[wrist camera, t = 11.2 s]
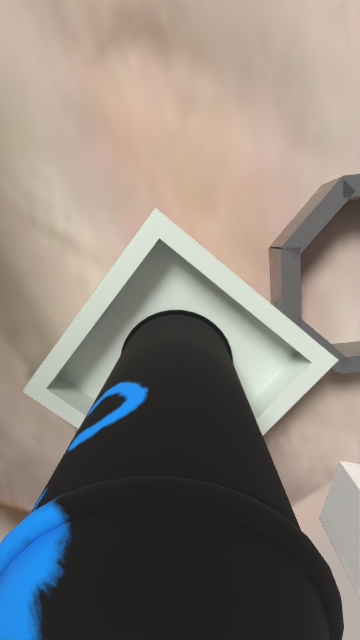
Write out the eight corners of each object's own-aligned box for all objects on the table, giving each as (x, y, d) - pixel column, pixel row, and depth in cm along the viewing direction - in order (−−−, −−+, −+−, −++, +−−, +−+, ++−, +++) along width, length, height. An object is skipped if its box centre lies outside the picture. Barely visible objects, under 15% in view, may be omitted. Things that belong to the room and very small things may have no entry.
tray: (42, 372, 23) (21, 391, 20) (159, 213, 20) (155, 207, 17) (191, 475, 25) (192, 505, 22) (318, 344, 22) (338, 360, 19)
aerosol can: (248, 327, 21) (923, 1211, 2) (212, 425, 23) (353, 1344, 4) (136, 294, 21) (-542, 1015, 1) (109, 396, 23) (-324, 1281, 3)
